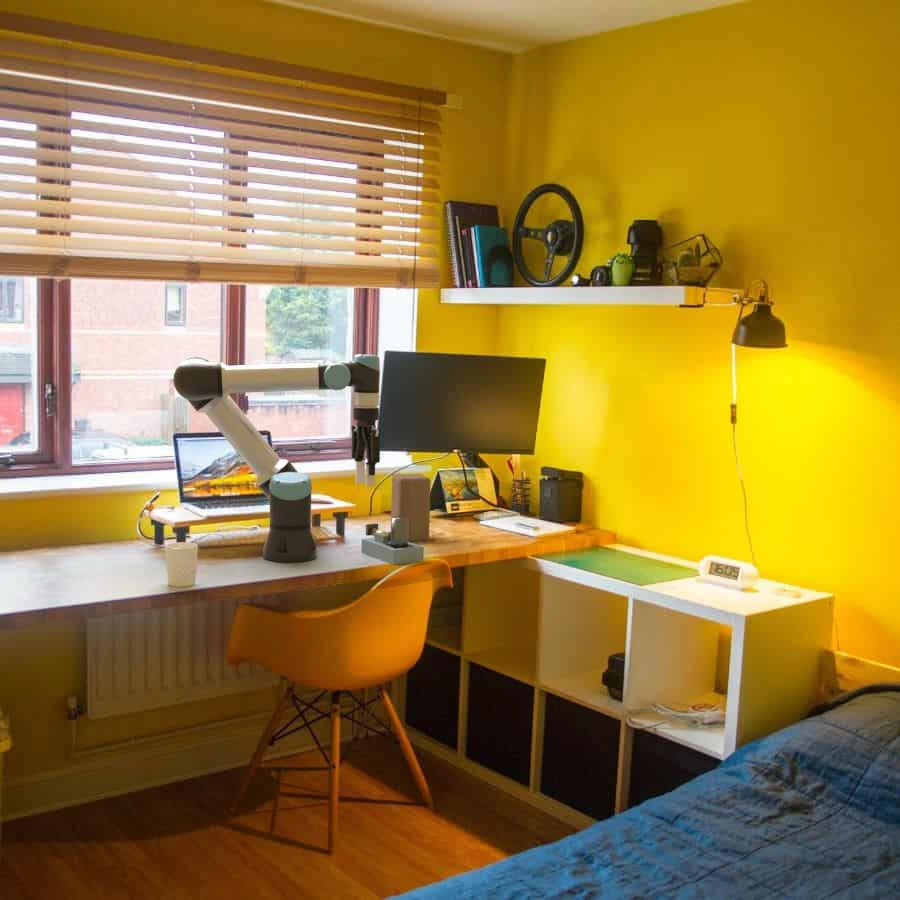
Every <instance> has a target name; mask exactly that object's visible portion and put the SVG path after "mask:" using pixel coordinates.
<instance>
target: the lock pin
mask: <svg viewBox="0 0 900 900" xmlns="http://www.w3.org/2000/svg"><path fill="white" fill-rule="evenodd" d="M388 532H389V531H384V530H381V529H379V523H377V522H375V523H367V524H365V536H367V537H369V536H372V537H374V536H375V533H381V534H384V535H387V536H388V540H389V539H390V533H388Z"/></svg>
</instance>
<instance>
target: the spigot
mask: <svg viewBox="0 0 900 900" xmlns="http://www.w3.org/2000/svg"><path fill="white" fill-rule="evenodd" d="M408 530H409V518H408V517H404V516H395V517H391V516H390V532H391V547H392V548H395V549H397V548H406V547H408Z"/></svg>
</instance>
